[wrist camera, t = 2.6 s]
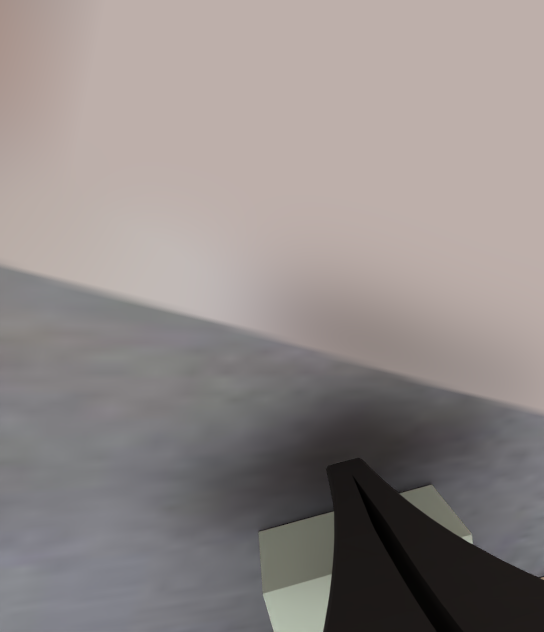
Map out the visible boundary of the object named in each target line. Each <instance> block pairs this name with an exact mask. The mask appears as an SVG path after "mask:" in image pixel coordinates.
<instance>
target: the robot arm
mask: <svg viewBox="0 0 544 632" xmlns="http://www.w3.org/2000/svg"><path fill="white" fill-rule="evenodd" d="M326 471H327V475H328V480H329V485H330V490H331V495H332V500H333V507H334V553H333V567H332V576H331V586H330V593H329V600H328V606H327V612H326V618H325V624H324V629H323V632H544V580H543V579H541V578H539V577H536V576H534V575H532V574H529V573H527V572H525V571H523V570H521V569H519V568H517V567H515V566H513V565H511V564H508V563H506V562H504V561H502V560H500V559H498V558H497V557H495V556H493V555H491V554H489V553H487V552H486V551H484V550H482V549H480V548H478V547H476V546H475V545H473V544H471V543H469V542H468V541H466V540H464V539H463V538H461V537H459V536H458V535H456V534H455V533H453V532H451V531H450V530H448V529H447V528H445V527H444V526H442V525H441V524H439V523H438V522H436V521H435V520H433V519H432V518H430V517H429V516H428V515H426V514H425V513H423V512H422V511H421V510H419V509H418V508H417V507H415V506H414V505H413V504H412V503H410V502H409V501H408V500H406V499H405V498H404V497H403V496H402V495H400V494H399V493H398V492H397V491H396V490H394V489H393V488H392V487H391V486H390V485H388V484H387V483H386V482H385V481H384V480H383V479H382V478H381V477H380V476H378V475H377V474H376V473H375V472H374V471H373V470H372V469H371V468H370V467H369V466H368V465H367V464H366V463H365V462H364V461H363V460H362V459H360V458H356V459H352V460H348V461H345V462H341V463H337V464H333V465H330V466H328V467H327V469H326Z"/></svg>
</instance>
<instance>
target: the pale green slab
mask: <svg viewBox="0 0 544 632" xmlns="http://www.w3.org/2000/svg"><path fill="white" fill-rule="evenodd" d="M399 494H400V495H402V496H403V497H404V498H405V499H406V500H408V501H409V502H410V503H412V504H413V505H414V506H415V507H417V508H418V509H419V510H421V511H422V512H423V513H425V514H426V515H428V516H429V517H430V518H432V519H433V520H435V521H436V522H438V523H439V524H441V525H442V526H444V527H445V528H447V529H448V530H450V531H451V532H453V533H455V534H456V535H458V536H459V537H461V538H463V539H464V540H466V541H468V542H469V543H471V544H473V541H472V534H471V532H470V531H469V530H468V529H467V528H466V526H465V525H464V524H463V523H462V521H461V520H460V519H459V518H458V516H457V515H456V514H455V513H454V511H453V510H452V509H451V508H450V507H449V505H448V504H447V503H446V502H445V500H444V499H443V498H442V497H441V495H440V494H439V493H438V492H437V490H436V489H435V488H434V487H433V485H428V486H425V487H421V488H417V489H414V490H410V491H406V492H403V493H399ZM258 533H259V547H260V562H261V576H262V590H263V596H264V600H265V603H266V606H267V610H268V613H269V617H270V620H271V623H272V627H273V630H274V632H323V629H324V624H325V618H326V612H327V606H328V600H329V593H330V586H331V576H332V567H333V553H334V511H333V512H330V513H326V514H322V515H319V516H315V517H311V518H308V519H304V520H300V521H297V522H293V523H289V524H286V525H282V526H278V527H275V528H271V529H267V530H264V531H260V532H258Z"/></svg>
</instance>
